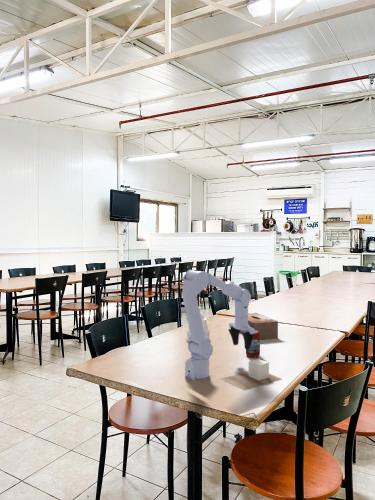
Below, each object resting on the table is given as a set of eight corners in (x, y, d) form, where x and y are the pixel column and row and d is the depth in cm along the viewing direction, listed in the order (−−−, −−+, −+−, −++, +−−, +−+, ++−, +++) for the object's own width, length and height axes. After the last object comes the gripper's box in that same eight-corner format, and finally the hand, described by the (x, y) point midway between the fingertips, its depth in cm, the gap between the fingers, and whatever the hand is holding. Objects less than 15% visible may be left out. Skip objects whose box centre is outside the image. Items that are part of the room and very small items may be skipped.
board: (244, 394, 142) (244, 390, 142) (220, 382, 154) (220, 378, 154) (282, 382, 153) (282, 379, 153) (257, 372, 165) (257, 368, 165)
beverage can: (244, 357, 186) (244, 332, 185) (247, 353, 192) (247, 329, 192) (258, 358, 183) (258, 333, 183) (261, 354, 190) (261, 330, 189)
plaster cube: (258, 380, 152) (258, 365, 152) (248, 376, 156) (248, 361, 156) (268, 377, 155) (268, 362, 155) (258, 373, 159) (258, 358, 159)
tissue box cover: (277, 338, 219) (277, 321, 219) (254, 341, 215) (254, 323, 214) (256, 328, 244) (256, 312, 243) (235, 330, 239) (235, 314, 239)
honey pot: (189, 336, 225) (189, 305, 224) (211, 337, 222) (211, 306, 222) (184, 342, 212) (184, 309, 212) (207, 343, 210) (207, 310, 209)
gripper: (259, 317, 166) (259, 349, 166) (237, 312, 178) (237, 341, 178) (247, 319, 162) (247, 352, 162) (225, 314, 174) (225, 344, 174)
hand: (241, 346), depth 170 cm, fingers open, 7 cm apart
